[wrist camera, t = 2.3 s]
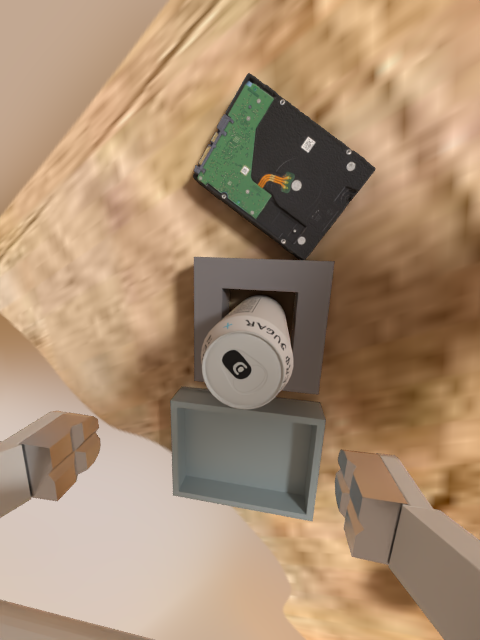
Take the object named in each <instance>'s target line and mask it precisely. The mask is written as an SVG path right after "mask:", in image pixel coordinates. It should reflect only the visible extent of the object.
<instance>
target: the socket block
mask: <svg viewBox="0 0 480 640" xmlns="http://www.w3.org/2000/svg"><path fill="white" fill-rule="evenodd" d="M334 262H335V261H306V260H274V259H243V258H212V257H194V381H201V382H204V379H203V375H202V364H201V351H202V346H203V343H204V340H205V338H206V336H207V335H208V333H209V331H210V330H211V329H212V328H213V327H214V326H215V325H216V324H217V323H218V322H220V321H221V320H222V319H223V318H224V317H225V316H226V315H228V314H229V300H230V289H247V290H266V291H286V292H295V298H294V309H293V321H292V332H291V348H292V353H293V370H292V374H291V377H290V379H289V381H288V383H287V384H286V385H285V387H284V388H283V389H282V391H291V392H300V393H309V394H319V386H320V377H321V369H322V361H323V353H324V344H325V336H326V328H327V319H328V311H329V303H330V295H331V286H332V278H333V270H334Z"/></svg>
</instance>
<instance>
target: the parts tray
mask: <svg viewBox="0 0 480 640" xmlns="http://www.w3.org/2000/svg"><path fill="white" fill-rule="evenodd" d="M170 403H171V438H172V473H173V495H174V496H180V497H185V498H190V499H196V500H201V501H206V502H212V503H217V504H222V505H228V506H233V507H238V508H244V509H249V510H254V511H260V512H265V513H271V514H276V515H281V516H287V517H292V518H297V519H303V520H308V521H313V513H314V506H315V498H316V490H317V483H318V475H319V468H320V460H321V452H322V445H323V437H324V430H325V422H326V419H325V416H324V413H323V410H322V407H321V404H320V402H311V401H303V400H294V399H285V398H277V397H275V398H274V399H273V400H271V401H270V402H269V403H267V404H265V405H263V406H261V407H258V408H255V409H237V408H233V407H230V406H228V405H226V404H224V403H222V402H221V401H219V400H218V399H217V398H216V397H214V396H213V395H212V393H211V392H210V391H209V390H208V389H199V388H190V387H181V388H180V389H179V391H178V392H177V393H176V394H175V396H174V397H173V398H172V399H171V400H170Z"/></svg>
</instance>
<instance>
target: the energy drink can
mask: <svg viewBox="0 0 480 640" xmlns="http://www.w3.org/2000/svg"><path fill="white" fill-rule="evenodd" d="M201 364H202V375H203V379H204V382H205V384H206V386H207V388H208V389H209V391H210V392H211V393H212V395H213V396H214V397H216V398H217V399H218V400H219V401H221V402H222V403H224V404H226V405H228V406H230V407H233V408H237V409H255V408H258V407H261V406H263V405H265V404H267V403H269V402H270V401H271V400H273V399H274V398H275V397H276V395H277V394H278V393H279V392H280V391H281V390H282V389H283V388H284V387H285V385H286V384H287V383H288V381H289V379H290V377H291V374H292V370H293V353H292V348H291V342H290V337H289V332H288V327H287V322H286V316H285V312H284V310H283V308H282V307H281V305H280V304H279V303H278V302H277V301H276V300H274V299H273V298H271V297H268V296H264V295H255V296H251V297H249V298H246V299H245V300H244V301H242V302H241V303H240V304H239V305H238V306H237V307H235V308H234V309H233V310H232V311H231V312H230V313H229V314H228V315H226V316H225V317H224V318H223V319H222V320H221V321H220V322H218V323H217V324H216V325H215V326H214V327H213V328H212V329H211V330H210V331H209V333H208V335H207V336H206V338H205V340H204V343H203V346H202V351H201Z"/></svg>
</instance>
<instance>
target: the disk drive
mask: <svg viewBox="0 0 480 640" xmlns="http://www.w3.org/2000/svg"><path fill="white" fill-rule="evenodd" d="M217 129H218V131H217V132H215V134H214V136H213V138H212V139H211V141H210V142H211V144H208V146H207V148H206V150H205V152H204V154H203V156H202V157H201V159H200V161H199V163H198V164H199V165H198V166H197V165H195V169H194V172H195V173H194V175H193V178H194V179H195V180H196V181H197V182H198V183H199V184H200V185H202V186H203V187H204V188H206V189H207V190H208V191H209V192H211V193H212V194H213V195H214V196H215V197H217V198H218V199H220V200H222V201H223V202H224V203H225V204H227V205H228V206H229V207H231V208H232V209H233V210H235V211H236V212H237V213H239V214H240V215H241V216H243V217H244V218H245V219H247V220H248V221H249V222H251V223H252V224H253V225H255V226H256V227H257V228H259V229H260V230H261V231H263V232H264V233H265V234H267V235H268V236H269V237H271V238H272V239H273V240H275V241H276V242H277V243H279V244H280V245H281V246H282V247H283V248H284V249H286V250H287V251H288V252H290V253H291V254H293V255H294V256H295V257H297V258H299V259H300V260H305V259H306V258H307V257H308V256H309V255H310V253H311V252H312V251H313V249H314V248H315V247H316V245H317V244H318V243H319V242H320V240H321V239H322V238H323V236H324V235H325V234H326V233H327V231H328V230H329V229H330V228H331V226H332V225H333V224H334V222H335V221H336V220H337V218H338V217H339V216H340V215H341V213H342V212H343V211H344V209H345V208H346V207H347V205H348V204H349V202H350V201H351V200H352V199H353V197H354V196H355V195H356V194H357V193H358V191H359V190H360V189H361V188H362V186H363V185H364V184H365V182H366V181H367V180H368V179H369V177H370V176H371V175H372V173H373V172H374V171H375V167H373V166H372V165H371V164H370V163H369V162H367V161H366V160H365V158H363V157H361V156H360V155H359V154H358V153H356V152H355V151H353V150H351V149H350V148H349V147H347V146H346V145H345V144H344V143H342V142H341V141H340V140H338V139H337V138H335V137H334V136H333V135H331V134H330V133H329V132H327V131H326V130H325V129H324V128H322V127H321V126H320V125H318V124H316V123H315V122H314V121H312V120H311V119H310V118H309V117H308V116H306V115H305V114H304V113H302V112H300V111H299V110H298V109H297V108H296V107H294V106H293V105H291V103H289V102H288V101H286V100H285V99H283V98H282V97H281V96H279V95H278V94H277V93H276V92H275V91H274V90H272V89H271V88H270V87H269V86H268V85H265V84H263V83H262V82H261V81H259V80H258V79H257V78H256V77H255V76H253V75H251V74H250V73H248V74H247V76H246V77H245V79H244V81H243V82H242V84H241V86H240V88H239V90H238V91H237V93H236V95H235V97H234V98H233V100H232V102H231V104H230V106H229V107H228V109H227V111H226V114H224V115H223V117H222V118H221V120H220V122H219V124H218V126H217Z"/></svg>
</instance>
